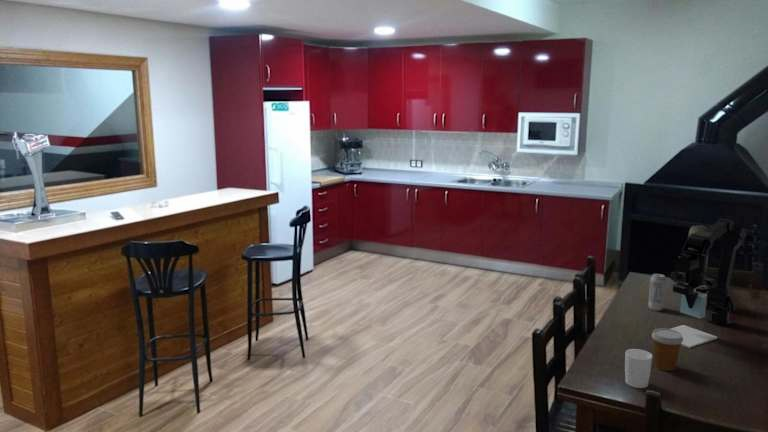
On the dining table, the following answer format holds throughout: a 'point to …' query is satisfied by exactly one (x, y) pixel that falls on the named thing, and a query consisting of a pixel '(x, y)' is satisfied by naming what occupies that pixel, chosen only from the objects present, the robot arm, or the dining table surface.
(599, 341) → the dining table surface
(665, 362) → the disposable coffee cup
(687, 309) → the slab
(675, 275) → the robot arm
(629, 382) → the white cup
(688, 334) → the mat
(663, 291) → the energy drink can
